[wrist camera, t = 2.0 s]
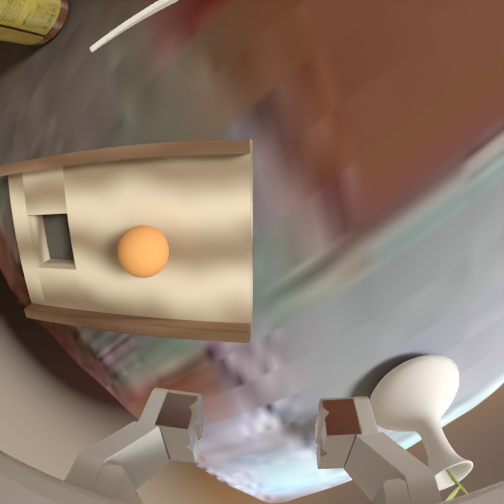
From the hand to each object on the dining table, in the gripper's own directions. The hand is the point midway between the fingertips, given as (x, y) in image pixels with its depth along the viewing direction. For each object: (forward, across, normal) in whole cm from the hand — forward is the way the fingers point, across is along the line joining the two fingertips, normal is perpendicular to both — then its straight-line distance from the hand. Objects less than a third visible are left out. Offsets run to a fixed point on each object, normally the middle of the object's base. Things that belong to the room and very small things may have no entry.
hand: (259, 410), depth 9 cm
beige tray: (+19, +14, 0) cm, 23 cm away
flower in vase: (+19, -18, +18) cm, 32 cm away
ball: (+15, +10, 0) cm, 17 cm away
